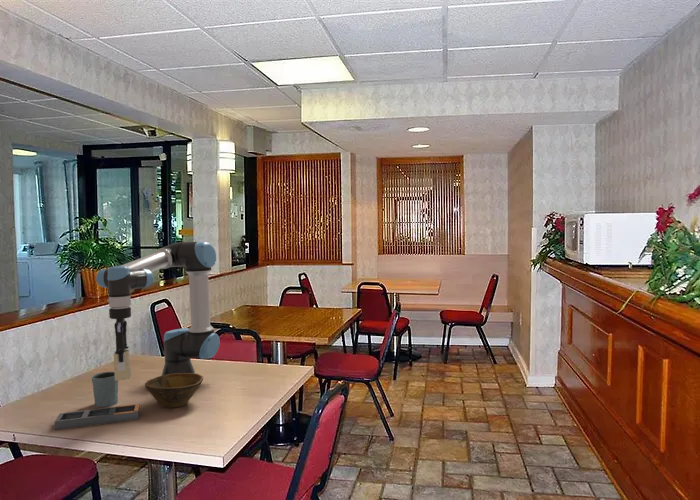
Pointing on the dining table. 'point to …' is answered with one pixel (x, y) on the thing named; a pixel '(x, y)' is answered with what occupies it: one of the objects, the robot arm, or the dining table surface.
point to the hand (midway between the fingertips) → (122, 368)
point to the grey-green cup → (105, 389)
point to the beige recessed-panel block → (125, 373)
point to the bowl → (174, 388)
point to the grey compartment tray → (97, 416)
